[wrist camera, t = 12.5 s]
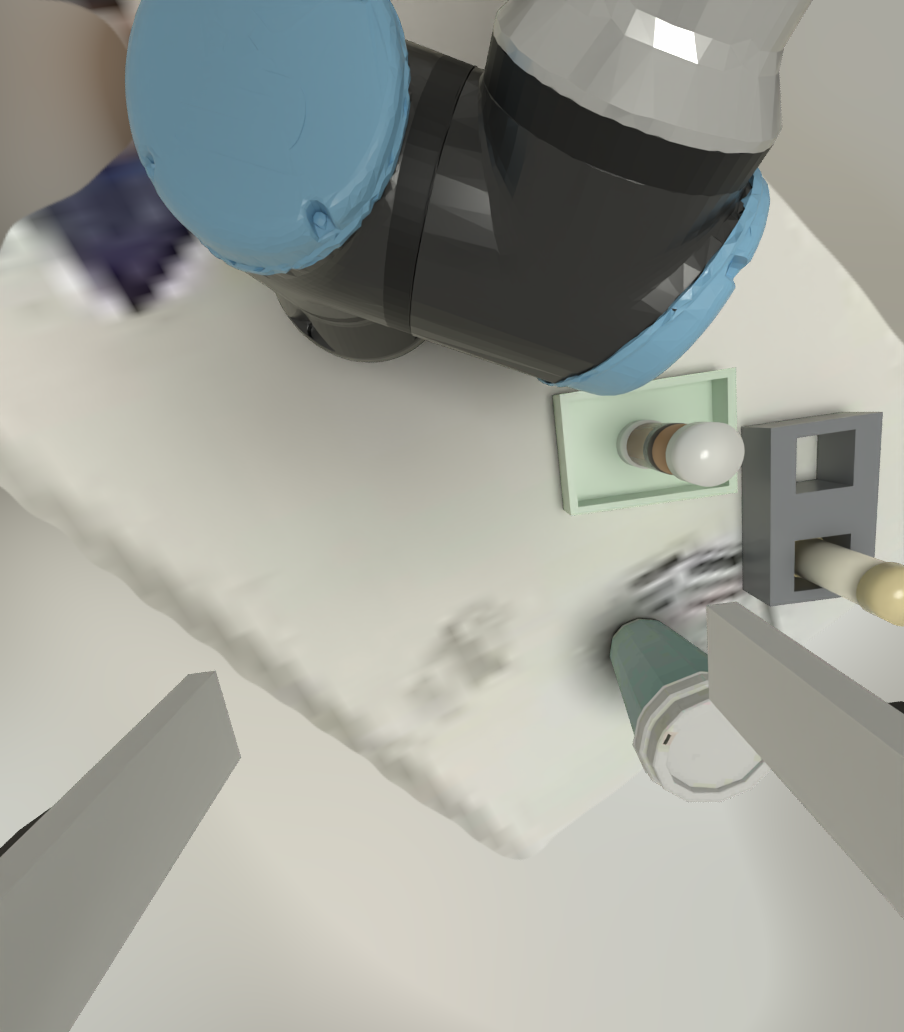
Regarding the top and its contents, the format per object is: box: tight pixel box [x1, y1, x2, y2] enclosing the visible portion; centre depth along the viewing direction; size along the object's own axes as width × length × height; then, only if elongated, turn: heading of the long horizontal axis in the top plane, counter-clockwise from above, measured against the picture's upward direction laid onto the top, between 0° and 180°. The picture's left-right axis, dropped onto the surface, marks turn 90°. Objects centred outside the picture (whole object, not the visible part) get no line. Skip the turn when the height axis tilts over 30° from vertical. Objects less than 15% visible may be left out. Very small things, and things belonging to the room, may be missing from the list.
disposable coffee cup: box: [610, 619, 771, 802], centre depth 39 cm, size 11×11×15 cm
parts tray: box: [552, 367, 737, 516], centre depth 40 cm, size 11×15×3 cm
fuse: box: [794, 538, 904, 626], centre depth 38 cm, size 4×4×12 cm
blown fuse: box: [616, 420, 745, 487], centre depth 35 cm, size 4×4×12 cm
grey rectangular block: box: [741, 412, 883, 606], centre depth 41 cm, size 16×9×4 cm, turn 8°
